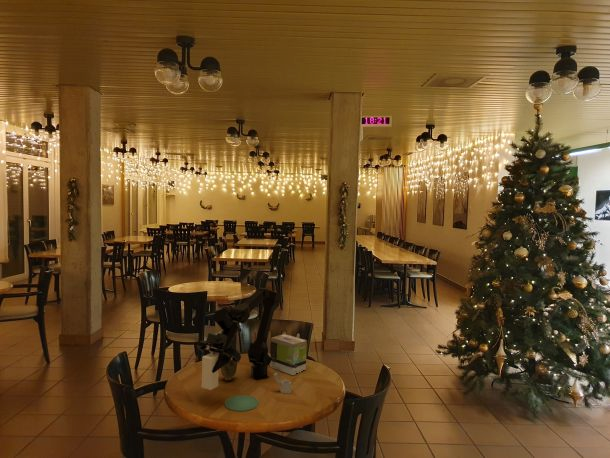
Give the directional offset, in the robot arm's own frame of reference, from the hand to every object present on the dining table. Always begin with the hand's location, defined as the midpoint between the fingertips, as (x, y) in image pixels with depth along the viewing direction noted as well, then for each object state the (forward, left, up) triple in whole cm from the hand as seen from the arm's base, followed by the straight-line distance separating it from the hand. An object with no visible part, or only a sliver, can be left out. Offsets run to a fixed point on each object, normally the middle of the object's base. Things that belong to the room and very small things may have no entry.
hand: (207, 371), depth 165 cm
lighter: (-32, +1, -14) cm, 35 cm away
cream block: (-1, -1, -7) cm, 7 cm away
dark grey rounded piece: (-16, -20, -14) cm, 29 cm away
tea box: (-46, -21, -14) cm, 52 cm away
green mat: (-13, +4, -13) cm, 19 cm away
